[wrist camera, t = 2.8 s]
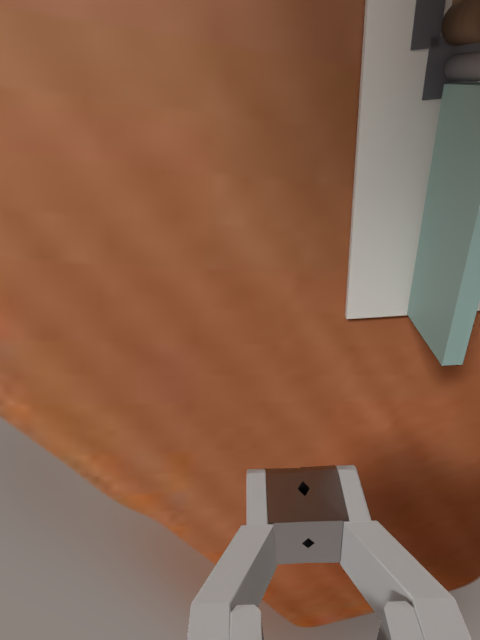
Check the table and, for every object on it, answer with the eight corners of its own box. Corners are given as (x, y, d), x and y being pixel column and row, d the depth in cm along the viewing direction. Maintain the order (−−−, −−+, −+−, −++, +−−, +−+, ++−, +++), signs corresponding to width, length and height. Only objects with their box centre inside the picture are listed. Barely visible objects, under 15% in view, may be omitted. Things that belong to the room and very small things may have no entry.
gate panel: (446, 54, 17) (523, 46, 12) (470, 52, 17) (557, 43, 12) (405, 312, 24) (445, 370, 19) (422, 311, 24) (466, 369, 19)
